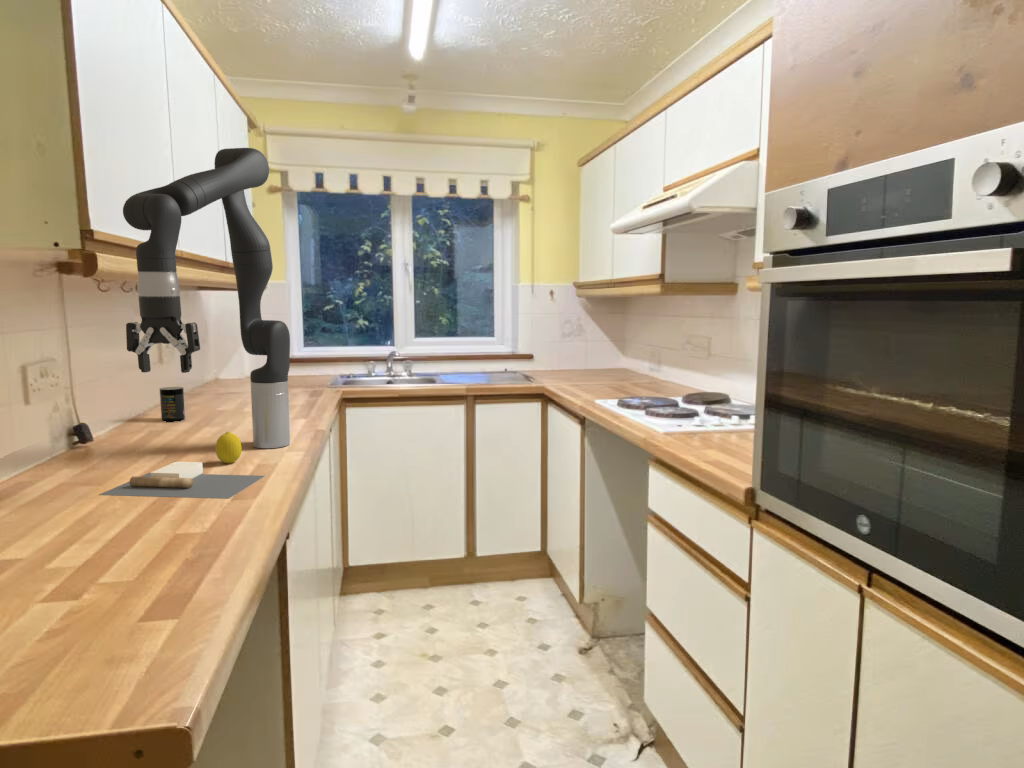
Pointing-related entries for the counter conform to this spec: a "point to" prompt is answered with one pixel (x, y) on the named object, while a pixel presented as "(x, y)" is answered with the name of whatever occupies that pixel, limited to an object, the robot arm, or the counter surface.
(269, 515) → the counter surface
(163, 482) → the dowel
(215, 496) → the mat
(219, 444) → the lemon
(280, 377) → the robot arm
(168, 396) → the supplement container
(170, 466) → the tile
